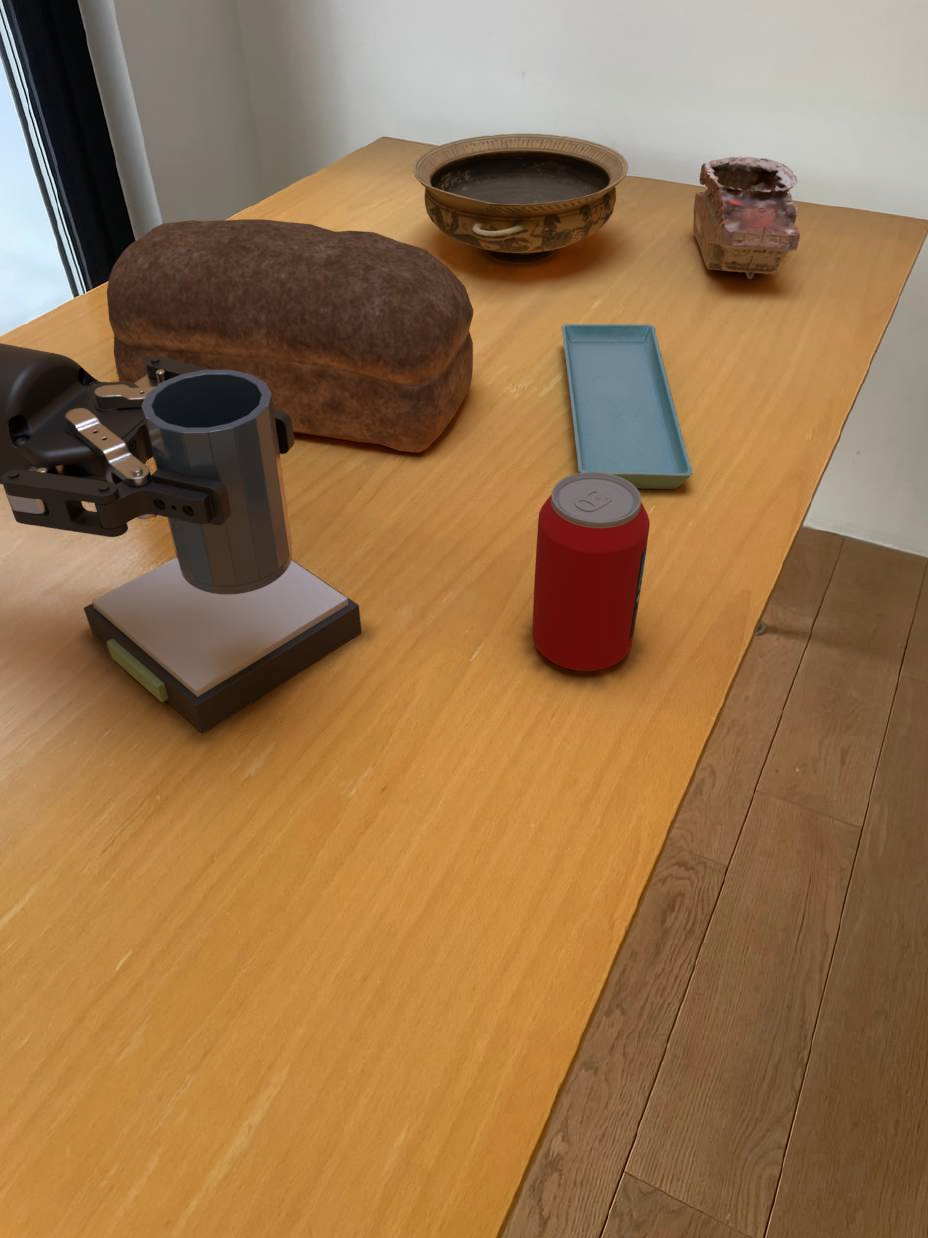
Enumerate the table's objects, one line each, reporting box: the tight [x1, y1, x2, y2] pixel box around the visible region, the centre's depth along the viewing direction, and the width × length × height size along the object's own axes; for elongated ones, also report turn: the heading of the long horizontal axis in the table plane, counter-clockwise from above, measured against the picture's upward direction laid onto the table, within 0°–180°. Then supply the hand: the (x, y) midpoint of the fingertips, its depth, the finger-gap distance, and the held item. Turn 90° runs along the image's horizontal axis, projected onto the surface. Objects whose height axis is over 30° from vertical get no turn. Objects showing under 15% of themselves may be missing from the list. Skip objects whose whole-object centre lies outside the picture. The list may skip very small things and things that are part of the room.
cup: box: [141, 370, 293, 595], centre depth 53 cm, size 6×6×10 cm
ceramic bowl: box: [412, 133, 629, 265], centre depth 116 cm, size 30×24×10 cm
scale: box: [83, 556, 362, 735], centre depth 68 cm, size 14×13×3 cm
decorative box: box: [692, 156, 801, 280], centre depth 113 cm, size 13×20×10 cm, turn 171°
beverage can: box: [531, 472, 650, 672], centre depth 64 cm, size 7×7×12 cm
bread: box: [106, 218, 474, 453], centre depth 88 cm, size 15×32×16 cm, turn 73°
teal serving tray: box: [561, 323, 694, 490], centre depth 90 cm, size 26×9×2 cm, turn 179°
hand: (258, 467), depth 51 cm, fingers closed on cup, 6 cm apart
